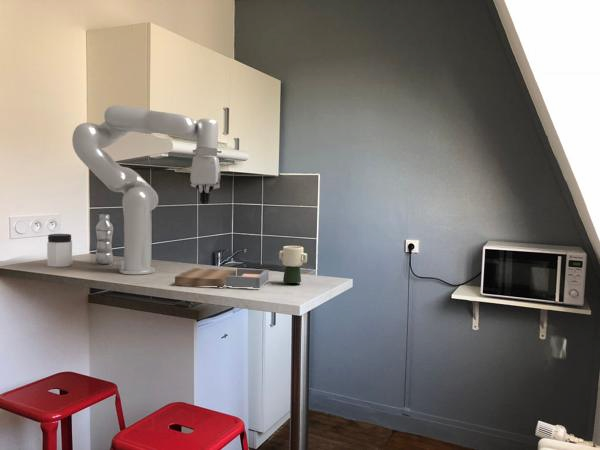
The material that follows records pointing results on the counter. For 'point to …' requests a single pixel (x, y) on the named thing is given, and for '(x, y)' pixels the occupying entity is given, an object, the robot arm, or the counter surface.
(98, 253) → the plastic bottle
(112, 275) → the counter surface
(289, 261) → the character mug
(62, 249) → the jar
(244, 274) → the orange block
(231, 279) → the box
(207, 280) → the platform
